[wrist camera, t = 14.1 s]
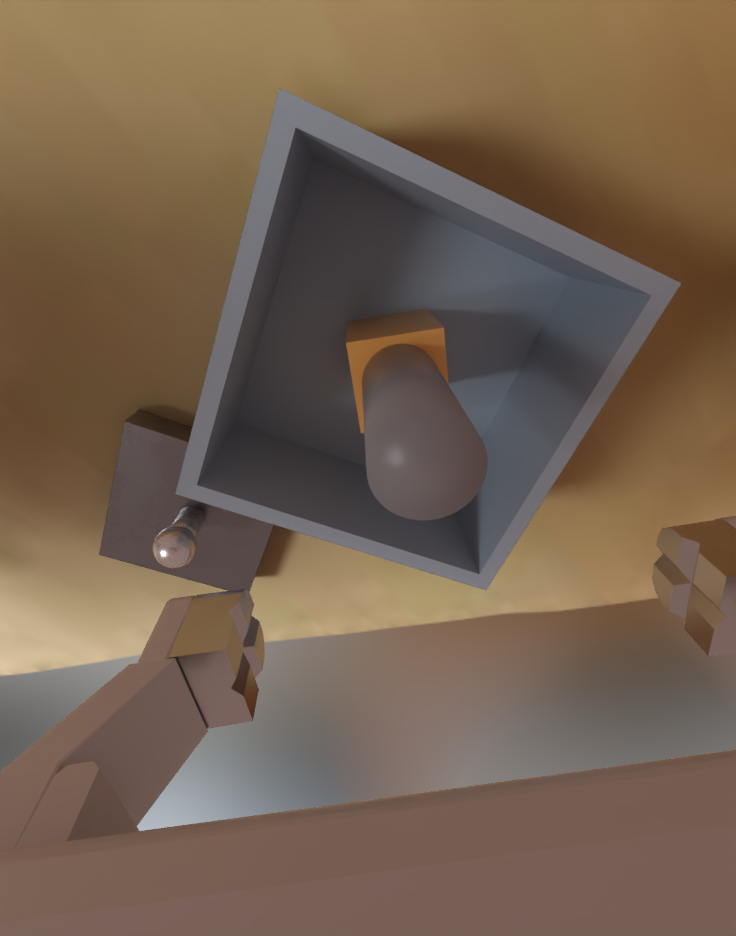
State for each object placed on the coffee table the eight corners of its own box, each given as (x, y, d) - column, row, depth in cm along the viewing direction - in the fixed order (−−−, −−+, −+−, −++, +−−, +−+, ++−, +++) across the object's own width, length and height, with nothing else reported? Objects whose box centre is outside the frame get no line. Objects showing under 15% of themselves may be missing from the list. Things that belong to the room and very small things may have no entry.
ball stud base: (112, 537, 34) (63, 600, 28) (138, 409, 29) (86, 453, 24) (252, 577, 35) (233, 644, 30) (295, 462, 31) (282, 514, 26)
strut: (347, 321, 27) (341, 410, 13) (426, 308, 26) (499, 386, 13) (359, 397, 28) (364, 540, 15) (433, 386, 28) (503, 520, 15)
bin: (223, 423, 30) (175, 494, 22) (304, 136, 24) (279, 88, 16) (453, 502, 33) (486, 590, 25) (581, 266, 27) (681, 283, 18)
